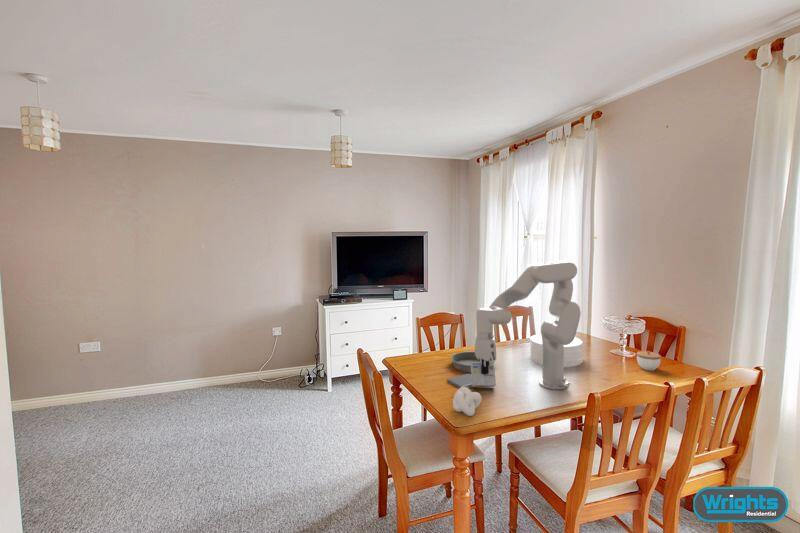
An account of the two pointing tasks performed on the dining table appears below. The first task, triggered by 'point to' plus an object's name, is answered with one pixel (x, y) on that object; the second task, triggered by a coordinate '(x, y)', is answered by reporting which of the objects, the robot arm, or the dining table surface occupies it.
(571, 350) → the plate stack
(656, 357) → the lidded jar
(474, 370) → the light bulb box
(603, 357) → the dining table surface
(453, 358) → the cake pan
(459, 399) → the white decorative knot
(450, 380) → the mat
